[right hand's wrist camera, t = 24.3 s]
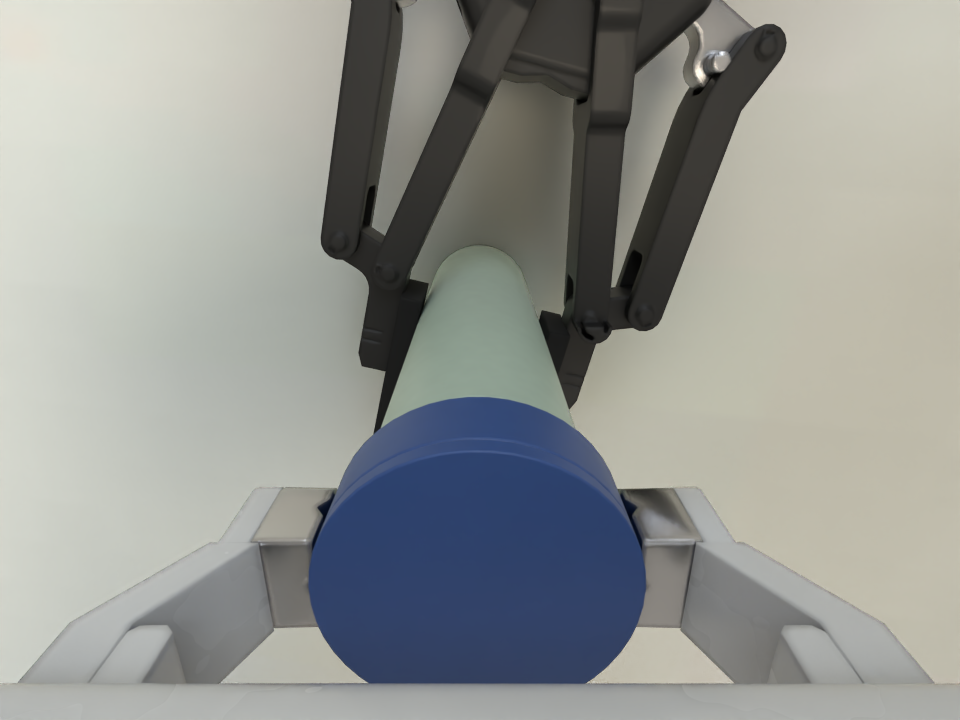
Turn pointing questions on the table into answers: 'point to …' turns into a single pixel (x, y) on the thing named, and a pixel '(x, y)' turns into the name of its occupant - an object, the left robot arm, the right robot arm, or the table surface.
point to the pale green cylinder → (478, 339)
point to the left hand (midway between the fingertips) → (448, 453)
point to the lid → (477, 551)
